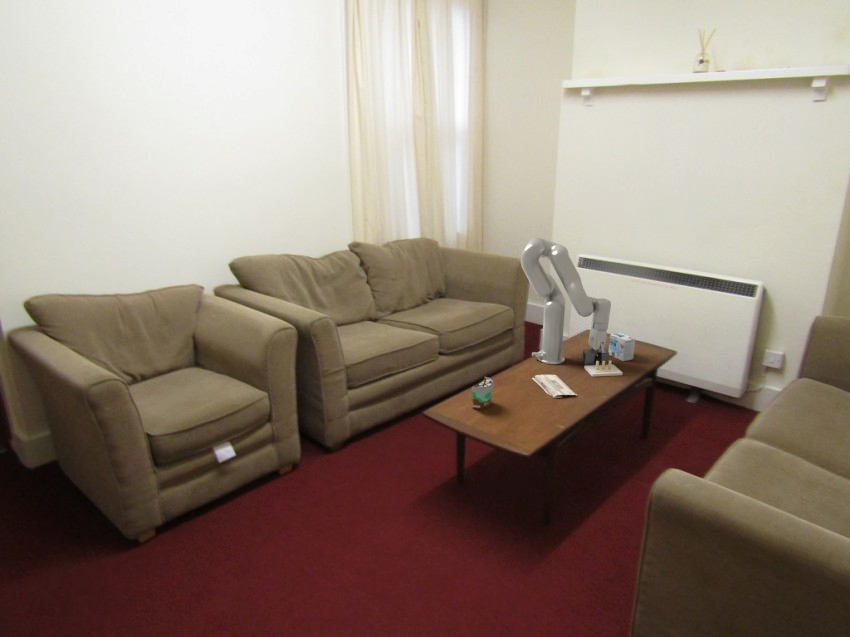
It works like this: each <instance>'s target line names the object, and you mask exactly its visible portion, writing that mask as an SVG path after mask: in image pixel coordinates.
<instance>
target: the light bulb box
mask: <svg viewBox="0 0 850 637" xmlns="http://www.w3.org/2000/svg"><path fill="white" fill-rule="evenodd" d="M635 343H636V337H632V336H629V335H627V334H626V333H623V332H615V333H611V334H609V343H608V350H607V351H608V352H609V356H611V357H613V358H615V359H617V360H620V361H621V362H625V361H630V360H634V353H635V345H636V344H635Z"/></svg>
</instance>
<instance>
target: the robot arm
mask: <svg viewBox="0 0 850 637" xmlns="http://www.w3.org/2000/svg"><path fill="white" fill-rule="evenodd" d="M568 250H569V249H568V248H566V246H564V245H561V244H559V243H555V242H553V241H550V240H547V239H543V238H540V237H533V238H531V239H530V240H528V242H527V243H526V246H525V247H524V248H523V251H522V252H521V256H520V266H521V268H522V270H523V272H524V273H523V274H525V276H526V277H527V279H528V282H529V284H530V285H531V287H532V288H533V291H534V293H535V294H536V296H538V297H540V298H542V300H543V302H544V306H543V324H542V326H543V327H542V344H541V349H539V351H537V352H535V351H533V352H531V356H532V357H535V358H537V359H538V361H540V362H541V363H543V364H546V365H561V364H563V363H564V362H565V360H566V358H565V357H564V356H563V342H564V341H563V340H564V327H565V315H566V298H565V296H564V294H563V293H562V291H561V289H560V287H559V285H558V284H557V282H556V279H555V278H553V276H552V275H550V274H549V273H546V271H545V269H544V267H543V266H542V264H541V263H540V258H543V259H546V260H549V261H550V263H551V265H552V267H553V269H554V271H555V273H556V274H557V277H558V278H559V280H560V282H561V284H562V285H563V288H564V290H565V292H566V294H567V296H568V298H569V299H570V300H569V301H570V302H571V304H572V306H573V307H574V310H575V311H576V313H577V314H578V315H579V316H580V317H584V318H587V317H590V316H591V315H592V316H591V317H592V318H591V326H590V330H589V334H588V341H587V344H588V345H589V347H590V348H589V349H594V350H596V356H595V360H594V363H595V364H596V361H599V364H601V360H602V355H603V353H604V350H605V349H606V346H607V331H608V329H609V323H610V322H609V321H610V315H611V307H612V302H611V301H610V299H606V298H597V297H592V296H589V295H587V293H586V290H585V288H584V286H583V283H582V278H581V276H580V274H579V272H578V270H577V269H576V266H575V265H574V263H573V261H572V259H571V257H570V255H569V251H568ZM598 351H600V352H599V353H598Z"/></svg>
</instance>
